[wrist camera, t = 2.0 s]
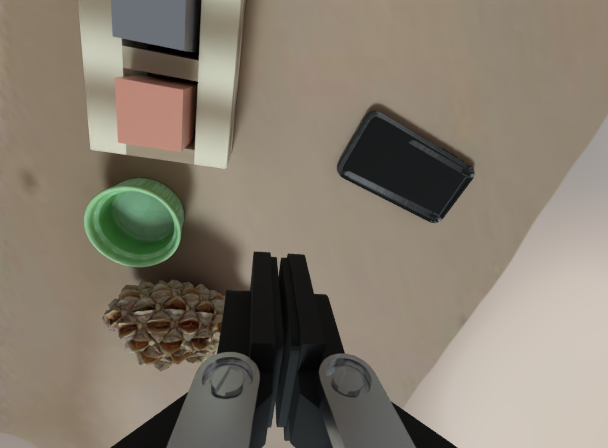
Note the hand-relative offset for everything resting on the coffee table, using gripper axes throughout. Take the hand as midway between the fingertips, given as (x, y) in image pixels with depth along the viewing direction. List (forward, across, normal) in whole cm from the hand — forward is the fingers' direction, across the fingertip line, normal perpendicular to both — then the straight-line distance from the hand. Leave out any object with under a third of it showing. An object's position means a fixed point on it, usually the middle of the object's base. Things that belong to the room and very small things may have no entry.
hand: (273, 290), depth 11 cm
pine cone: (+27, +4, +22) cm, 35 cm away
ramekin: (+27, +12, +10) cm, 31 cm away
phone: (+27, -16, +2) cm, 31 cm away
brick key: (+23, +9, -2) cm, 24 cm away
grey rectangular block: (+23, +8, -9) cm, 26 cm away
